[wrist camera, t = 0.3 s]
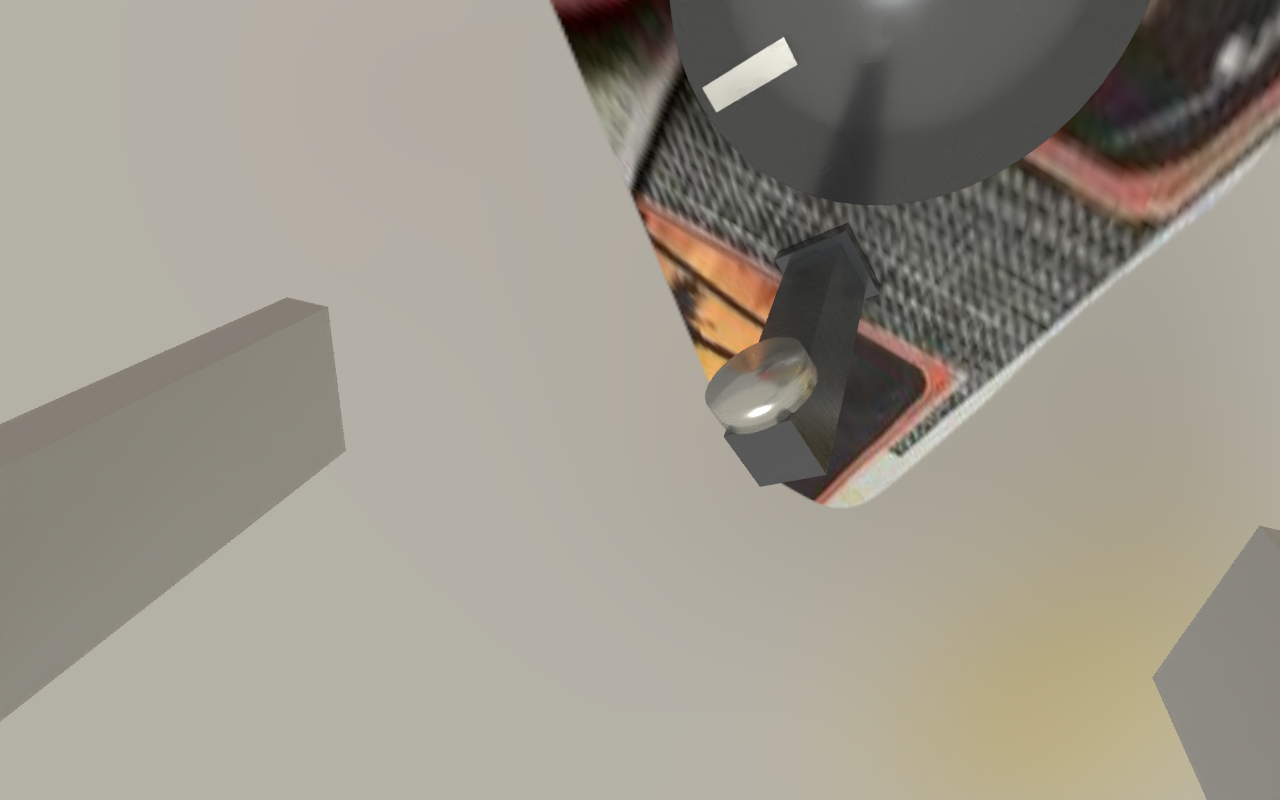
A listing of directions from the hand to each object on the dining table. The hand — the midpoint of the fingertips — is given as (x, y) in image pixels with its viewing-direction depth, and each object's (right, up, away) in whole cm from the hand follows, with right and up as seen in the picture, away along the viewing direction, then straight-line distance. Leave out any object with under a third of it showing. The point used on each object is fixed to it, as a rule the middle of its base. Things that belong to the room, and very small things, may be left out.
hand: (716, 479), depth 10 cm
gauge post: (+9, +8, +26) cm, 29 cm away
